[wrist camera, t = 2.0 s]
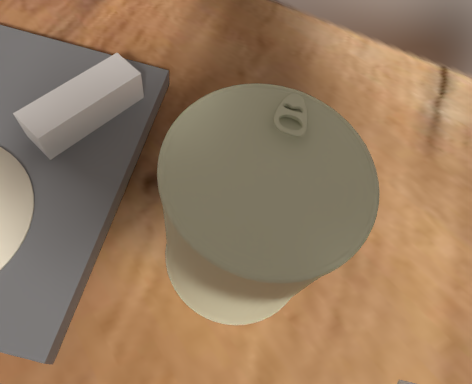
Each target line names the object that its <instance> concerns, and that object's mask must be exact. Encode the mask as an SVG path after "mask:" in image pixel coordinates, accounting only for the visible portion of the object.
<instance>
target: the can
mask: <svg viewBox="0 0 472 384" xmlns="http://www.w3.org/2000/svg"><path fill="white" fill-rule="evenodd" d="M157 181H158V189H159V194H160V198H161V202H162V205H163V211H164V219H165V227H166V238H167V244H166V253H165V254H166V267H167V272H168V275H169V278H170V281H171V283H172V285H173V287H174V289H175V291H176V292H177V294H178V295H179V296H180V298H181V299H182V300H183V301H184V302H185V304H186V305H188V306H189V307H190V308H191V309H192V310H194V311H195V312H196V313H198V314H199V315H201V316H203V317H205V318H207V319H209V320H212V321H214V322H218V323H222V324H227V325H246V324H251V323H255V322H259V321H262V320H264V319H266V318H268V317H270V316H272V315H273V314H275V313H276V312H278V311H279V310H280V309H281V308H282V307H284V306H285V304H286V303H287V302H288V301H289V300H290V298H292V297H293V296H294V295H296V294H297V293H298V292H300V291H301V290H303V289H304V288H305V287H307V286H308V285H310V284H311V283H313V282H314V281H315V280H317V279H318V278H320V277H321V276H324V275H326V274H328V273H330V272H332V271H334V270H335V269H337V268H339V267H340V266H342V265H343V264H344V263H346V262H347V261H348V260H349V259H350V258H352V257H353V256H354V255H355V253H356V252H357V251H358V250H359V249H360V248H361V246H362V245H363V244H364V242H365V241H366V239H367V237H368V236H369V234H370V232H371V230H372V227H373V225H374V222H375V219H376V216H377V211H378V205H379V183H378V177H377V172H376V168H375V165H374V162H373V160H372V157H371V155H370V153H369V151H368V149H367V147H366V145H365V143H364V142H363V140H362V139H361V137H360V136H359V134H358V133H357V132H356V131H355V129H354V128H353V127H352V126H351V125H350V124H349V123H348V122H347V121H346V120H345V119H344V118H343V117H342V116H341V115H340V114H339V113H337V112H336V111H335V110H334V109H332V108H331V107H329V106H328V105H326V104H325V103H323V102H322V101H320V100H318V99H316V98H314V97H312V96H310V95H308V94H306V93H303V92H301V91H298V90H295V89H291V88H287V87H284V86H278V85H272V84H258V83H256V84H241V85H234V86H230V87H226V88H222V89H220V90H217V91H214V92H212V93H210V94H208V95H206V96H204V97H202V98H200V99H198V100H197V101H196V102H194V103H193V104H191V105H190V106H189V107H188V108H186V109H185V110H184V111H183V112H182V113H181V114H180V115H179V117H178V118H177V119H176V120H175V121H174V123H173V124H172V125H171V127H170V129H169V131H168V132H167V134H166V136H165V139H164V141H163V143H162V146H161V150H160V153H159V158H158V166H157Z"/></svg>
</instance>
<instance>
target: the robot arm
mask: <svg viewBox="0 0 472 384" xmlns="http://www.w3.org/2000/svg"><path fill="white" fill-rule="evenodd" d="M397 384H415V383H411V382H407V381H403V380H399V381H398V383H397Z"/></svg>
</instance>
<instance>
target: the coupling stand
mask: <svg viewBox="0 0 472 384" xmlns="http://www.w3.org/2000/svg"><path fill="white" fill-rule="evenodd" d="M168 86H169V70H165V69H161V68H158V67H154V66H150V65H147V64H143V63H139V62H135V61H132V60H128V59H124V58H123V57H122V56H120V55H119V54H118V53H115V54H114V55H110V54H106V53H102V52H99V51H95V50H91V49H88V48H84V47H80V46H77V45H73V44H69V43H66V42H62V41H58V40H54V39H51V38H47V37H43V36H40V35H36V34H32V33H29V32H25V31H21V30H18V29H14V28H10V27H7V26H3V25H0V352H2V353H6V354H9V355H13V356H17V357H21V358H25V359H29V360H33V361H36V362H40V363H44V364H53V363H54V361H55V358H56V356H57V353H58V351H59V349H60V346H61V344H62V341H63V339H64V337H65V334H66V332H67V329H68V327H69V324H70V322H71V320H72V317H73V315H74V312H75V310H76V308H77V305H78V303H79V300H80V298H81V296H82V293H83V291H84V288H85V286H86V283H87V281H88V279H89V276H90V274H91V271H92V269H93V267H94V264H95V262H96V259H97V257H98V254H99V252H100V250H101V247H102V245H103V242H104V240H105V238H106V235H107V233H108V230H109V228H110V226H111V223H112V221H113V218H114V216H115V213H116V211H117V209H118V206H119V204H120V201H121V199H122V197H123V194H124V192H125V189H126V187H127V185H128V182H129V180H130V177H131V175H132V172H133V170H134V168H135V165H136V163H137V160H138V158H139V156H140V153H141V151H142V148H143V146H144V143H145V141H146V139H147V136H148V134H149V131H150V129H151V127H152V124H153V122H154V119H155V117H156V115H157V112H158V110H159V107H160V105H161V102H162V100H163V98H164V95H165V93H166V90H167V88H168Z"/></svg>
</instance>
